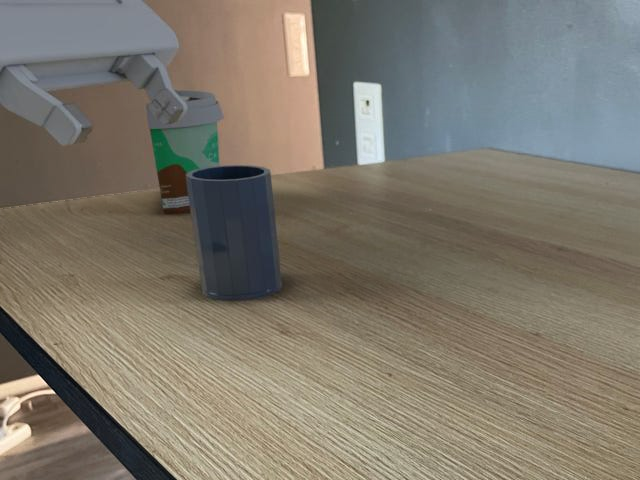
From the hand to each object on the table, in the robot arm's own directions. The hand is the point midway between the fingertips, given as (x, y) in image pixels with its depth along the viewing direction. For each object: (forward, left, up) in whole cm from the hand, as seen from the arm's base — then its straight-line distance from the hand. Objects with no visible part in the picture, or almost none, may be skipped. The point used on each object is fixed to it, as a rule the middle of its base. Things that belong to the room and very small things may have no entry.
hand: (132, 126), depth 52 cm
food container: (-7, +23, -11) cm, 26 cm away
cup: (+7, -1, -11) cm, 13 cm away
